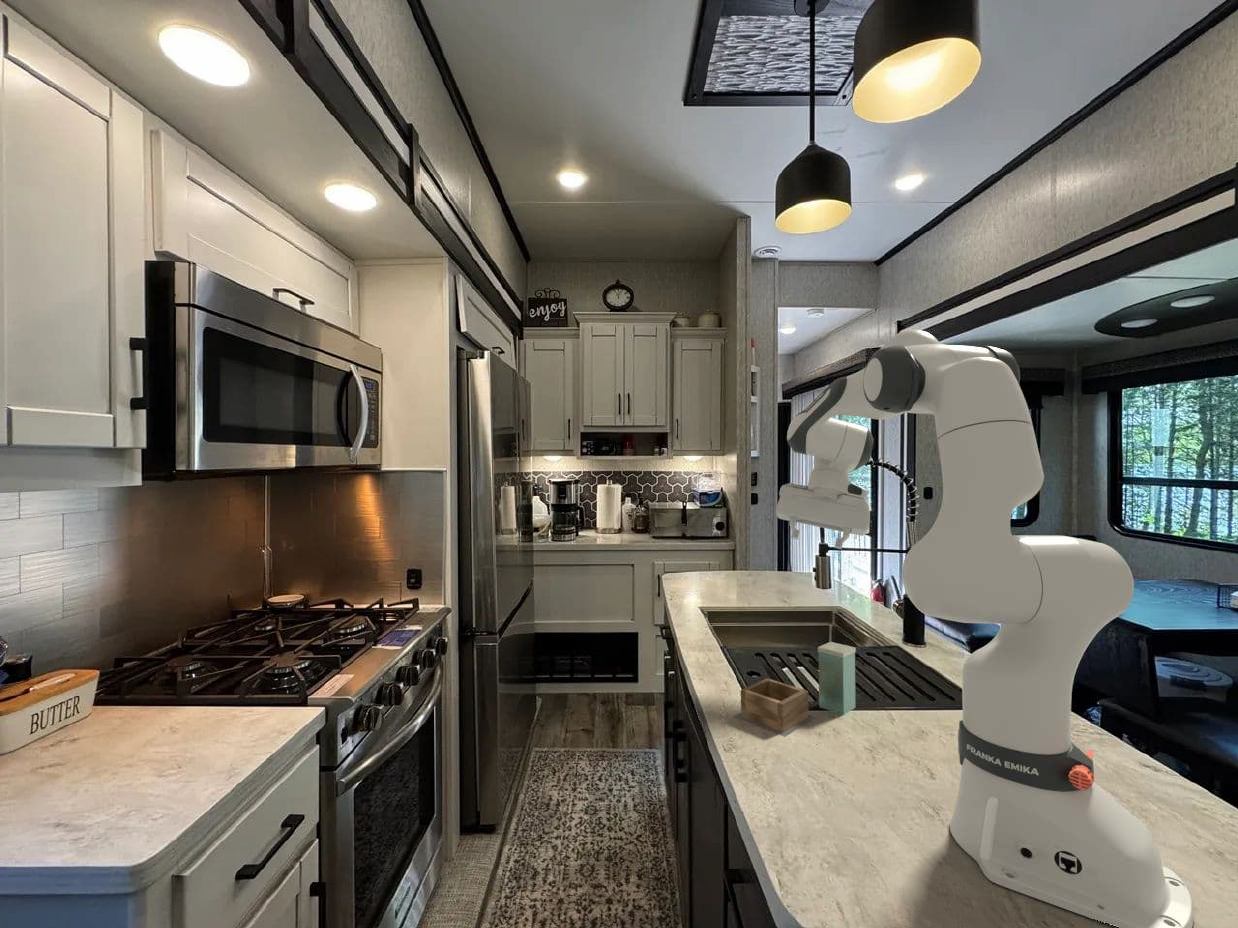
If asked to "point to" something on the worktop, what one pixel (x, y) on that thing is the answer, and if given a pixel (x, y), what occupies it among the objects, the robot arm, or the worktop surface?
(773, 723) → the open wooden box
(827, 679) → the tea tin
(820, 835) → the worktop surface
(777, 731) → the mat
